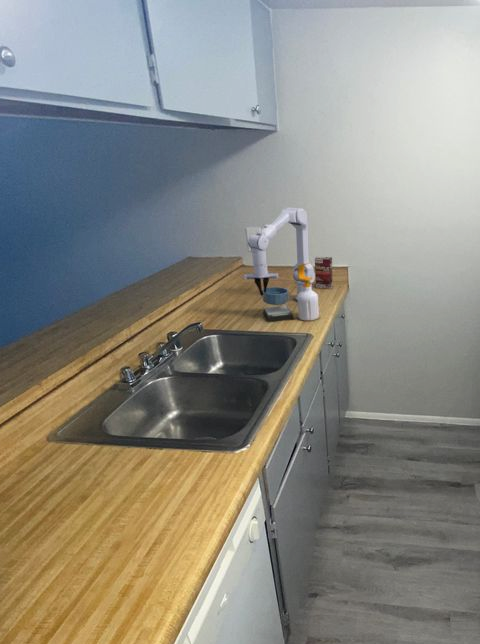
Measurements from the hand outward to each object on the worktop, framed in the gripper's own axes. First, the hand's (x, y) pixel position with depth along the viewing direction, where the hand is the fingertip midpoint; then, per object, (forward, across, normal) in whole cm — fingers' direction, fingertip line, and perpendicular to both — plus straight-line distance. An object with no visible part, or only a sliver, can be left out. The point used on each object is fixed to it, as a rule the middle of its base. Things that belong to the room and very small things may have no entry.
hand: (263, 294), depth 210 cm
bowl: (+3, +5, 0) cm, 6 cm away
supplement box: (+10, +30, +44) cm, 54 cm away
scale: (+10, +6, -2) cm, 11 cm away
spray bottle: (+10, +19, -6) cm, 23 cm away
